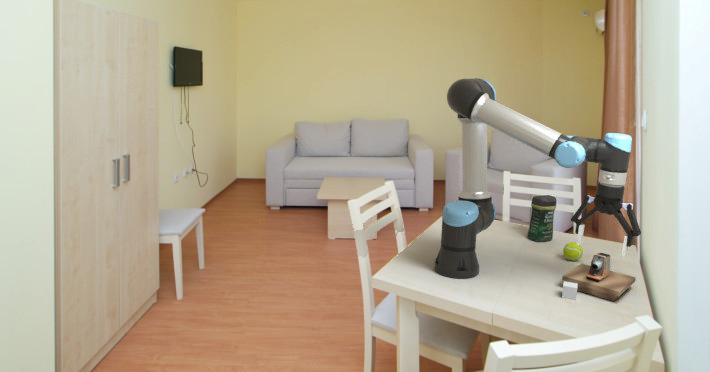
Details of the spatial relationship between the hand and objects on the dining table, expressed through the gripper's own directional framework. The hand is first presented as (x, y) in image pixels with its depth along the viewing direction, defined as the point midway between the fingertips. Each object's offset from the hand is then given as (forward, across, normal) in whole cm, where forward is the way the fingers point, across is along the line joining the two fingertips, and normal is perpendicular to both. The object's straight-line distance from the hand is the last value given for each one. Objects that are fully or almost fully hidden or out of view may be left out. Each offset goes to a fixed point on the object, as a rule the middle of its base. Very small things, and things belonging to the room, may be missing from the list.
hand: (600, 249), depth 164 cm
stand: (+13, +1, 0) cm, 13 cm away
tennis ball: (+13, -15, +20) cm, 29 cm away
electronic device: (+9, +1, -1) cm, 9 cm away
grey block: (+13, -3, -13) cm, 19 cm away
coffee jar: (+14, -34, +35) cm, 51 cm away
